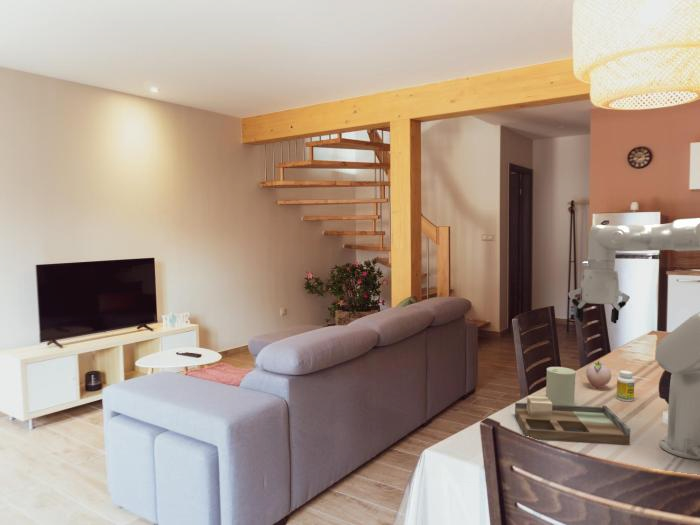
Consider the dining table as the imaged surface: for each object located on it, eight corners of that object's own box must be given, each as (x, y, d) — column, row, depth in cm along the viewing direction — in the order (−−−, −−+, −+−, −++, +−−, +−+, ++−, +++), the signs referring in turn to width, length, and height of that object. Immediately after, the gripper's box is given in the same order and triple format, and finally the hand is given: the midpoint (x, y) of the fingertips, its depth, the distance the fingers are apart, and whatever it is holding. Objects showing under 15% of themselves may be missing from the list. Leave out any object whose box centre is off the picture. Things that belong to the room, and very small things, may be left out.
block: (551, 418, 159) (552, 403, 159) (530, 417, 160) (531, 402, 159) (546, 411, 165) (547, 397, 164) (526, 410, 166) (527, 396, 165)
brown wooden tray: (629, 444, 146) (630, 428, 146) (527, 438, 150) (527, 423, 149) (605, 420, 165) (605, 405, 165) (514, 415, 169) (515, 401, 168)
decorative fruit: (612, 393, 193) (614, 365, 192) (588, 390, 195) (589, 363, 194) (607, 385, 202) (609, 359, 201) (584, 383, 204) (585, 357, 203)
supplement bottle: (621, 395, 190) (623, 369, 189) (636, 400, 185) (638, 372, 184) (613, 398, 187) (614, 371, 186) (628, 402, 182) (629, 375, 182)
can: (539, 401, 182) (540, 366, 182) (560, 398, 186) (562, 364, 185) (558, 410, 174) (560, 373, 173) (580, 407, 177) (582, 371, 176)
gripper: (573, 265, 160) (569, 322, 162) (635, 268, 157) (631, 325, 159) (567, 263, 168) (564, 317, 169) (627, 266, 165) (623, 321, 166)
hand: (596, 321), depth 164 cm, fingers open, 9 cm apart
